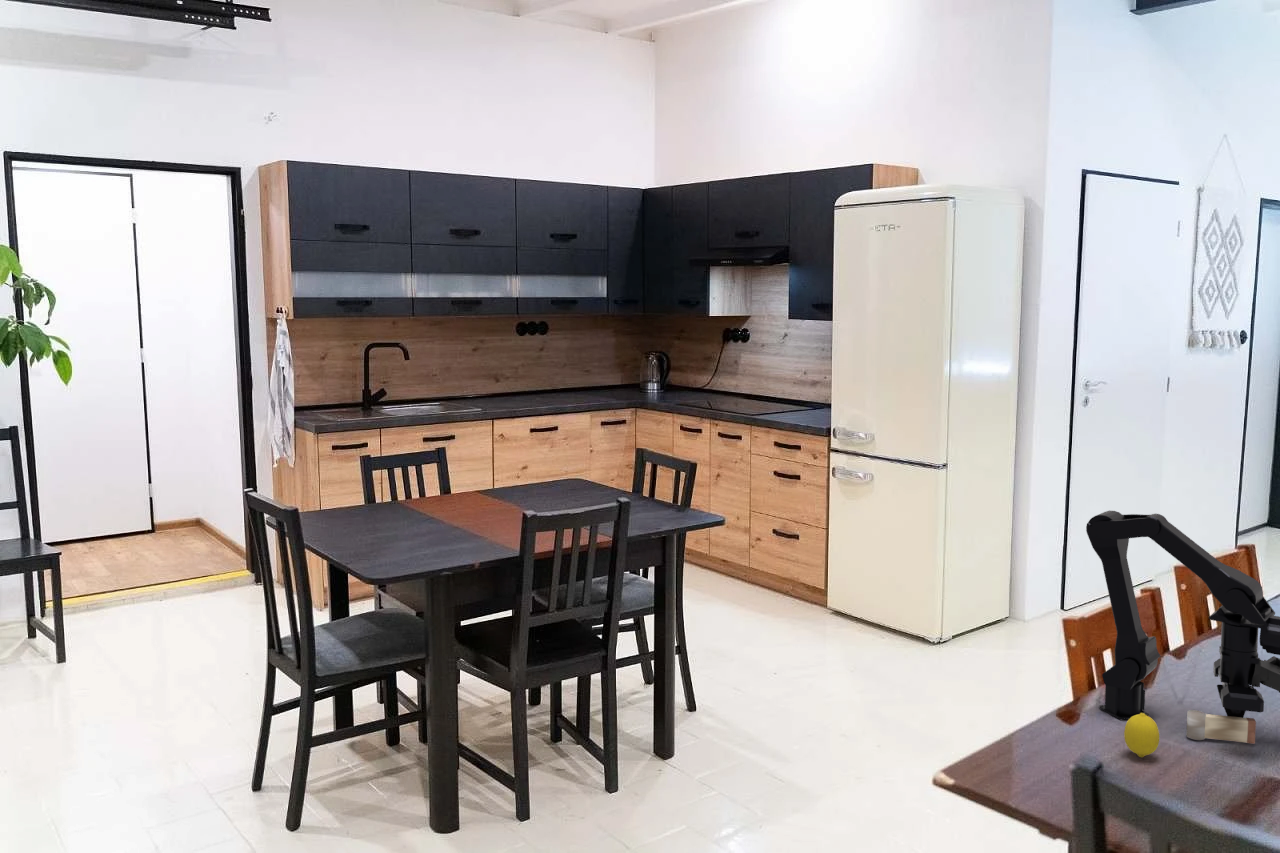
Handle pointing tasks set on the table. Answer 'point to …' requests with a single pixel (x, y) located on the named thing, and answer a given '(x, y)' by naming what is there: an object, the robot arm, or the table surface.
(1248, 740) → the cream brown-tipped bar
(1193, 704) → the table surface
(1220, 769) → the table surface
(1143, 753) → the lemon
